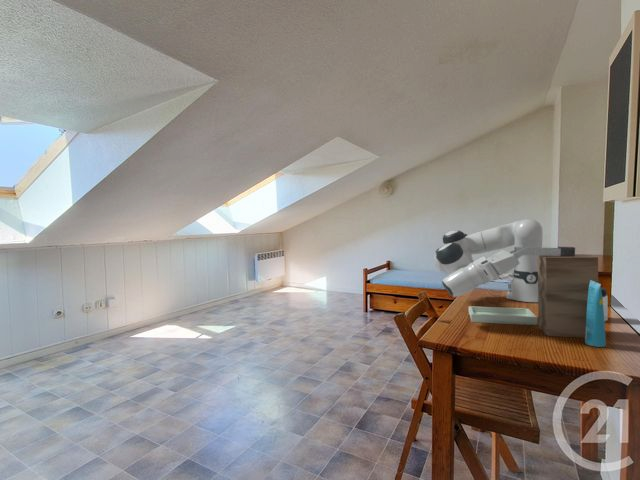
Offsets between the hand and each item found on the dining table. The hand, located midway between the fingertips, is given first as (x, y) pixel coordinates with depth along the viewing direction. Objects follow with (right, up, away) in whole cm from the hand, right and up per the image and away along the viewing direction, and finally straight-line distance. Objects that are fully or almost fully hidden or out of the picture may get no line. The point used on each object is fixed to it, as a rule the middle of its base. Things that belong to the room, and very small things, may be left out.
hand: (524, 249), depth 115 cm
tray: (0, -28, +15) cm, 32 cm away
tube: (+13, -29, -15) cm, 35 cm away
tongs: (+5, -2, -2) cm, 6 cm away
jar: (+32, -27, +10) cm, 43 cm away
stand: (+13, -28, -3) cm, 31 cm away
